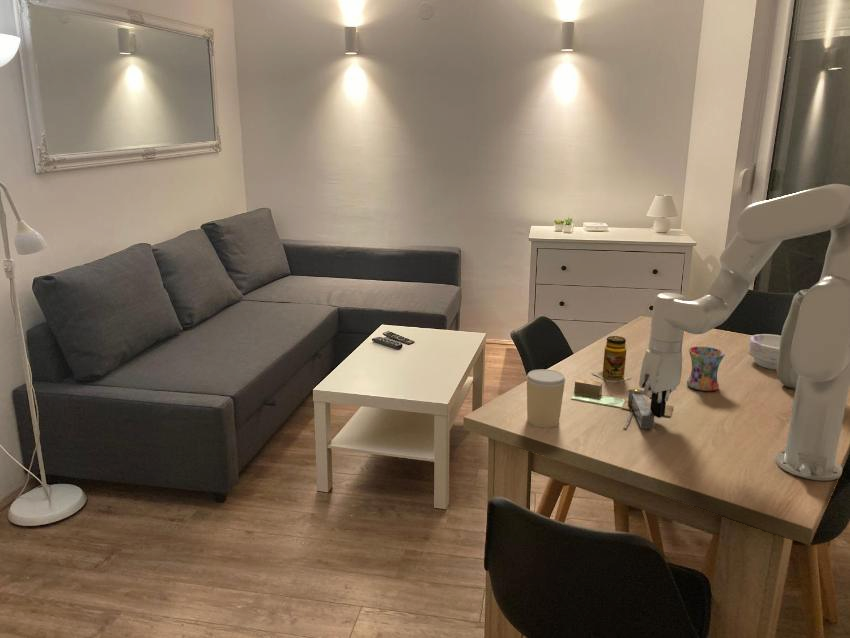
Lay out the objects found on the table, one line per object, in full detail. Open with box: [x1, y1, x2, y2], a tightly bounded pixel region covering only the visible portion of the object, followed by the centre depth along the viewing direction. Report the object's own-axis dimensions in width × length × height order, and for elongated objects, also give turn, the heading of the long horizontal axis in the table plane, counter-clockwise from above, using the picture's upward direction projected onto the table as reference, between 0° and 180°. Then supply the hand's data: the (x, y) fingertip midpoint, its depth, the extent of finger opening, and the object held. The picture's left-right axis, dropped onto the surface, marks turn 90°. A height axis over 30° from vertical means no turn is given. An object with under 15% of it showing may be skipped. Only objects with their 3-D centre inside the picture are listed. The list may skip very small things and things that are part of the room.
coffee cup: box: [526, 368, 566, 428], centre depth 171 cm, size 9×9×12 cm
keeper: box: [570, 378, 626, 409], centre depth 187 cm, size 8×14×3 cm, turn 65°
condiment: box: [592, 335, 630, 384], centre depth 202 cm, size 7×8×12 cm
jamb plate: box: [620, 397, 674, 430], centre depth 175 cm, size 20×12×1 cm, turn 155°
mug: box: [686, 346, 726, 392], centre depth 196 cm, size 12×9×11 cm
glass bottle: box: [776, 288, 810, 390], centre depth 193 cm, size 10×10×28 cm
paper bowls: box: [747, 333, 781, 371], centre depth 214 cm, size 15×15×8 cm
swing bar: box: [627, 388, 655, 430], centre depth 175 cm, size 18×4×4 cm, turn 173°
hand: (656, 415), depth 172 cm, fingers closed
